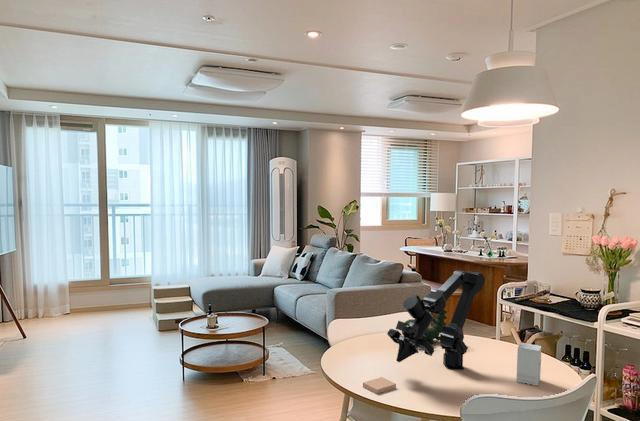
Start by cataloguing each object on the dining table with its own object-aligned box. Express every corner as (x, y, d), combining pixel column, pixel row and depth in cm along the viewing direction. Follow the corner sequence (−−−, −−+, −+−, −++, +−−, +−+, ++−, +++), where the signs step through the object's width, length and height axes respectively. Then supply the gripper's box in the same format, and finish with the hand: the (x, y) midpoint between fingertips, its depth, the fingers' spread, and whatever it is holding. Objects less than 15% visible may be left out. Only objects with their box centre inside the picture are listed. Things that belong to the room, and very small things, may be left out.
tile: (381, 377, 163) (362, 382, 158) (396, 383, 157) (376, 389, 152) (381, 382, 163) (362, 388, 158) (395, 389, 157) (376, 395, 152)
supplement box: (538, 386, 161) (539, 351, 161) (515, 381, 165) (516, 347, 165) (540, 380, 168) (542, 345, 167) (519, 375, 172) (520, 342, 171)
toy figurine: (435, 341, 218) (390, 341, 209) (439, 301, 219) (394, 300, 209) (448, 347, 210) (401, 347, 200) (452, 305, 210) (406, 304, 200)
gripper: (390, 307, 172) (368, 341, 166) (428, 318, 157) (405, 356, 151) (405, 324, 177) (384, 358, 171) (443, 337, 162) (421, 374, 156)
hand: (397, 361), depth 162 cm, fingers closed
